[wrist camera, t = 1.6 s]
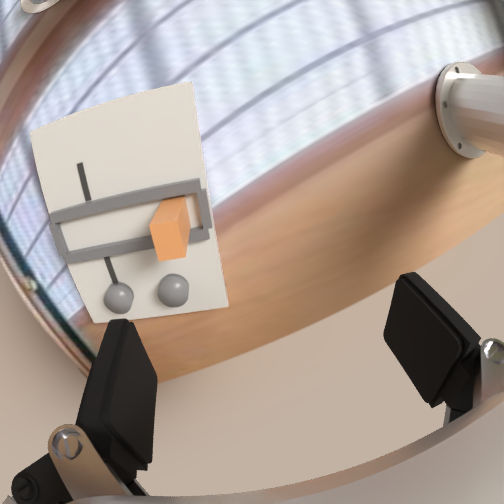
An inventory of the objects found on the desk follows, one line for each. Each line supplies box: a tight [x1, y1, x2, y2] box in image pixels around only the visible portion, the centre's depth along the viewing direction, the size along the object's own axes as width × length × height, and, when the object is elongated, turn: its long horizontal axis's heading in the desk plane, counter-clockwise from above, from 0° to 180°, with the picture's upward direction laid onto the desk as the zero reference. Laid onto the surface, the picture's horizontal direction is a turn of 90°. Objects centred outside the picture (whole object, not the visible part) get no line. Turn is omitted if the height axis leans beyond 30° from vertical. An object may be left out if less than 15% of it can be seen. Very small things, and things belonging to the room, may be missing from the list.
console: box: [30, 81, 229, 323], centre depth 24 cm, size 16×22×4 cm
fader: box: [149, 196, 191, 261], centre depth 22 cm, size 2×3×6 cm
